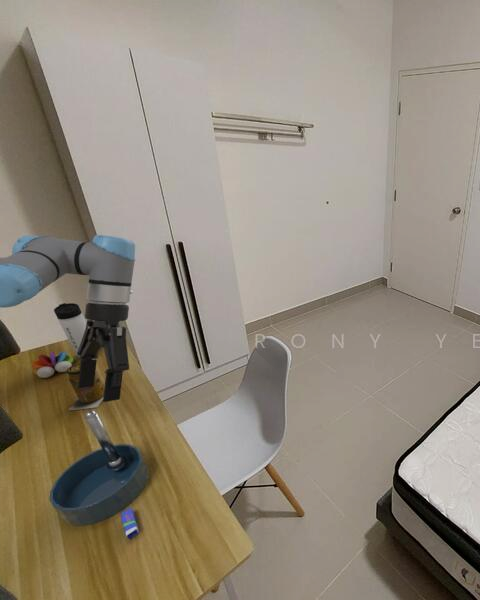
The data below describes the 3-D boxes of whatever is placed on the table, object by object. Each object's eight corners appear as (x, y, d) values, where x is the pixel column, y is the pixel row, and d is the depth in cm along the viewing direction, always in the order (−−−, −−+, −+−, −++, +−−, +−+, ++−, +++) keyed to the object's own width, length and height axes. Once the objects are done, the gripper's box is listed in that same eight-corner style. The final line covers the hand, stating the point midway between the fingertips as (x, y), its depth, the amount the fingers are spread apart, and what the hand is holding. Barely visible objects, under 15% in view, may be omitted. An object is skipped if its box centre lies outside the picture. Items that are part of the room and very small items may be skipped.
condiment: (111, 388, 106) (98, 358, 100) (97, 407, 99) (82, 377, 93) (85, 391, 104) (69, 361, 99) (68, 411, 97) (50, 380, 91)
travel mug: (94, 346, 124) (73, 300, 115) (102, 352, 121) (81, 305, 112) (73, 354, 119) (49, 307, 110) (81, 361, 116) (57, 313, 107)
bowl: (41, 530, 70) (27, 514, 67) (93, 461, 84) (84, 446, 81) (123, 522, 72) (114, 506, 69) (161, 457, 86) (154, 441, 83)
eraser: (128, 540, 69) (125, 535, 68) (123, 518, 72) (120, 513, 71) (139, 533, 70) (136, 528, 69) (134, 512, 74) (131, 507, 73)
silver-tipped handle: (122, 473, 80) (92, 417, 71) (106, 474, 80) (73, 418, 71) (131, 460, 83) (103, 405, 74) (115, 461, 83) (85, 406, 74)
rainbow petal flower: (36, 369, 111) (26, 352, 108) (74, 358, 118) (66, 341, 114) (37, 382, 106) (26, 365, 103) (76, 370, 112) (68, 353, 109)
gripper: (154, 309, 73) (143, 402, 73) (105, 298, 85) (95, 379, 85) (112, 308, 67) (101, 411, 67) (65, 297, 79) (55, 384, 78)
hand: (98, 393), depth 76 cm, fingers open, 13 cm apart
